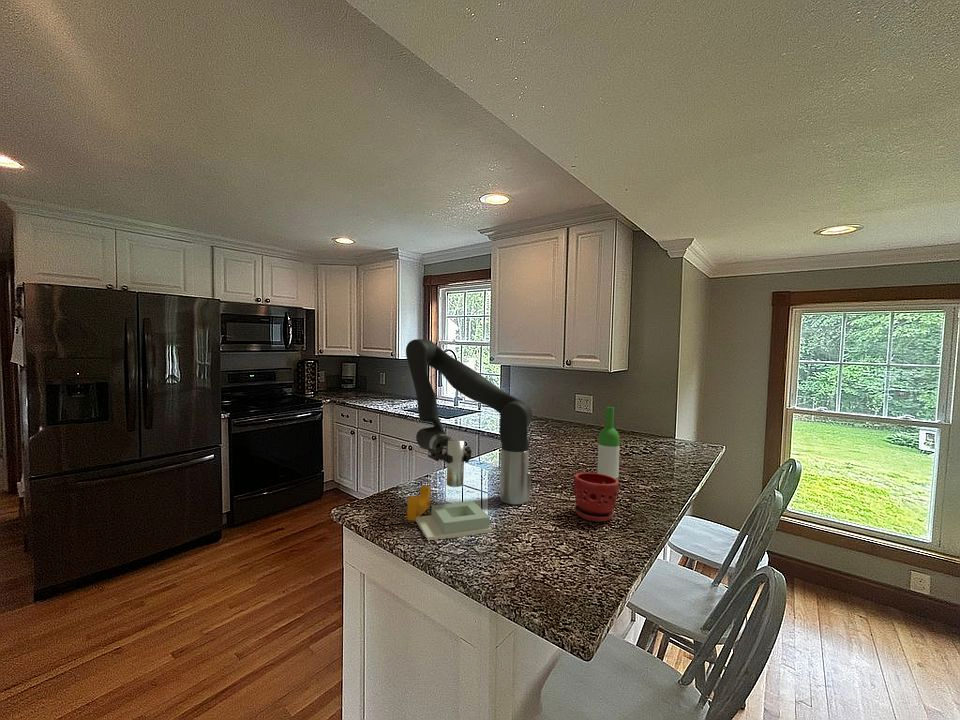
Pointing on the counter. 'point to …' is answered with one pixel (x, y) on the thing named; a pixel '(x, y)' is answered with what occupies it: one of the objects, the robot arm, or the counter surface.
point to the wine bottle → (608, 447)
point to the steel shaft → (455, 462)
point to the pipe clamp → (418, 503)
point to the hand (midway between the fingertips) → (458, 459)
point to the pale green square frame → (454, 521)
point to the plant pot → (595, 496)
